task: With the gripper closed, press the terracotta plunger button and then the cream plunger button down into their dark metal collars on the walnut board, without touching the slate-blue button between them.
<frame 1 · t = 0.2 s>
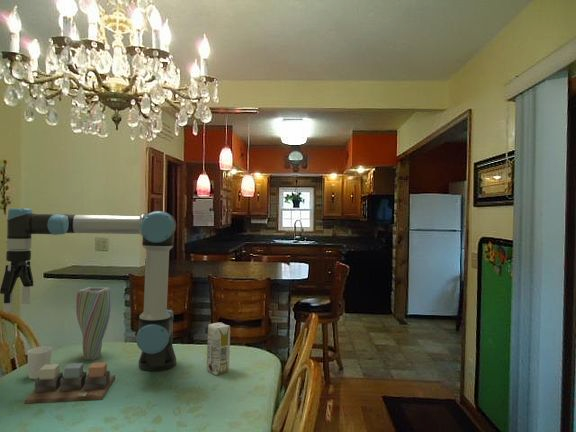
hand: (17, 307, 148), 28 cm above the table, fingers open, 13 cm apart
juice carton: (217, 371, 165), on the table
terracotta key: (97, 371, 145), point 6 cm above the table, slide at 0.0 cm
slate key: (73, 372, 144), point 6 cm above the table, slide at 0.0 cm
cream key: (49, 373, 142), point 6 cm above the table, slide at 0.0 cm
white cup: (38, 376, 155), on the table
board: (73, 390, 144), on the table
vase: (92, 357, 176), on the table
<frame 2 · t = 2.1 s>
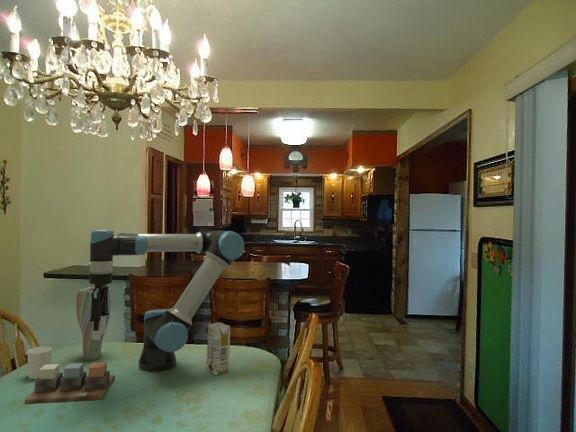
hand: (99, 336, 145), 19 cm above the table, fingers open, 6 cm apart
nothing on the table moved.
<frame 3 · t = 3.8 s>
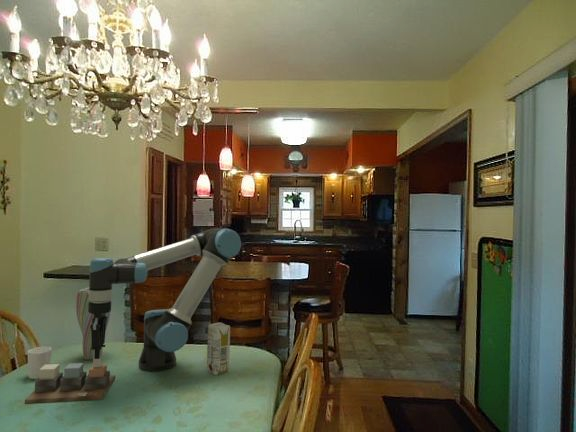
hand: (97, 366, 145), 8 cm above the table, fingers closed
terracotta key: (97, 374, 145), point 5 cm above the table, slide at 0.8 cm, touching gripper
everything else where it was.
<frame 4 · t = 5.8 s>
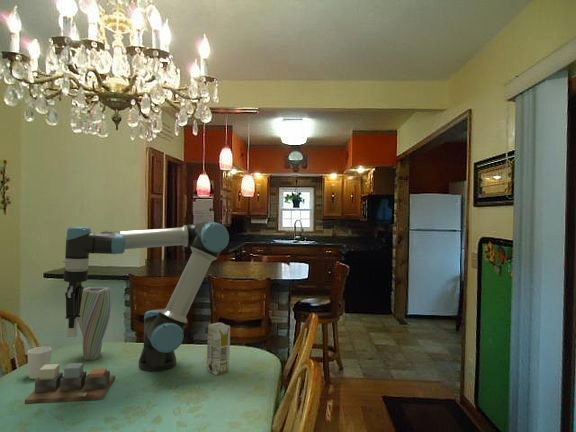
hand: (71, 336, 143), 19 cm above the table, fingers closed
terracotta key: (97, 378, 145), point 4 cm above the table, slide at 2.2 cm
everything else where it was.
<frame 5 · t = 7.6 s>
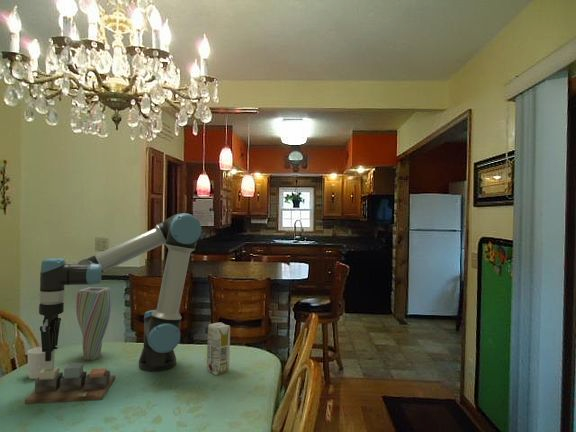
hand: (49, 369, 142), 8 cm above the table, fingers closed
cream key: (49, 376, 142), point 5 cm above the table, slide at 1.1 cm, touching gripper
everything else where it was.
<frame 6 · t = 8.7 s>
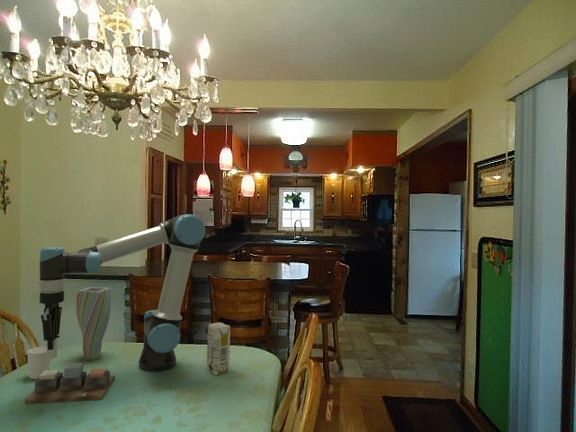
hand: (51, 357, 142), 12 cm above the table, fingers closed
cream key: (49, 380, 142), point 4 cm above the table, slide at 2.2 cm
everything else where it was.
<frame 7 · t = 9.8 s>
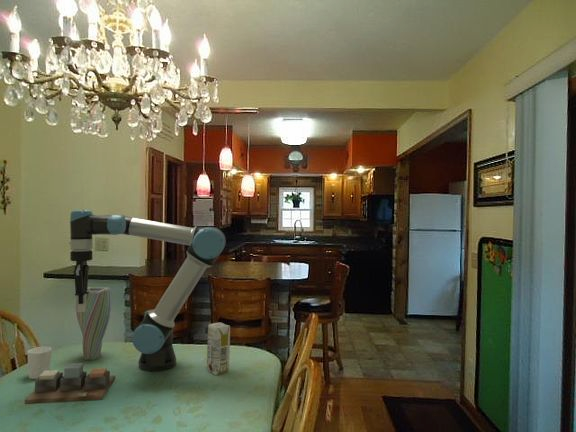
hand: (81, 311, 154), 25 cm above the table, fingers closed
nothing on the table moved.
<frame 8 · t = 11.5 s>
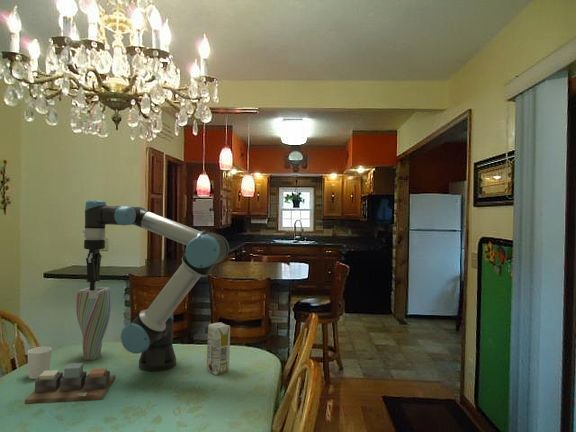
hand: (92, 298, 161), 29 cm above the table, fingers closed
nothing on the table moved.
at the end: terracotta key slide at 2.2 cm; cream key slide at 2.2 cm; slate key slide at 0.0 cm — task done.
